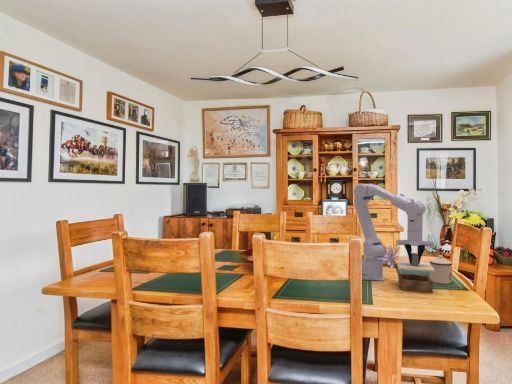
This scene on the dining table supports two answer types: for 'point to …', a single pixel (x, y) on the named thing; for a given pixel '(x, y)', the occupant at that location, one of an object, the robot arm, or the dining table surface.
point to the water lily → (390, 257)
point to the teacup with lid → (441, 270)
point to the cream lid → (414, 264)
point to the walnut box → (415, 282)
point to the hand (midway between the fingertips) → (414, 263)
